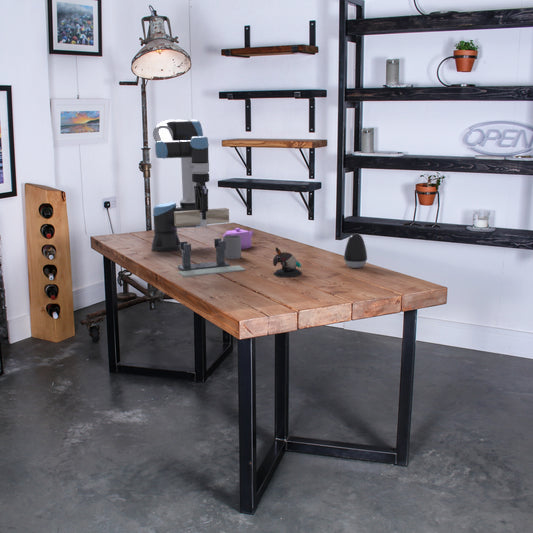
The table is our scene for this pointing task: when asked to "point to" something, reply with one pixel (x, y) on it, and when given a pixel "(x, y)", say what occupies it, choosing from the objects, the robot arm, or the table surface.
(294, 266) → the figurine
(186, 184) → the robot arm
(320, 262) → the table surface
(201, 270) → the mat
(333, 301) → the table surface
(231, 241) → the cup
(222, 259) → the rack
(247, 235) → the teapot
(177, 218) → the rail
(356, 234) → the black speaker
